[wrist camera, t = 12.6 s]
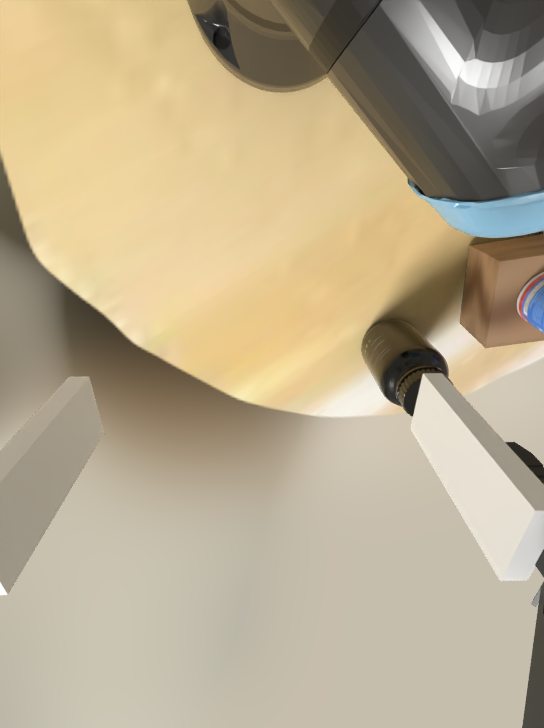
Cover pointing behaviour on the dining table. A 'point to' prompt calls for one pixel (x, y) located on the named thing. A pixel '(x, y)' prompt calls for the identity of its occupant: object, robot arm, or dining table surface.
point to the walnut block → (500, 290)
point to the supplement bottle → (400, 361)
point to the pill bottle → (533, 302)
